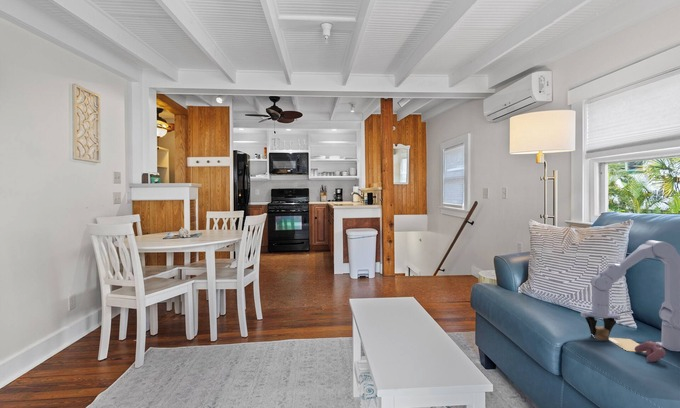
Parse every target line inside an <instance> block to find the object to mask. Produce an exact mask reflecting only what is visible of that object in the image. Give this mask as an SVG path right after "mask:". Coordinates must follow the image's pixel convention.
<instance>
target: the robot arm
mask: <svg viewBox="0 0 680 408" xmlns="http://www.w3.org/2000/svg"><path fill="white" fill-rule="evenodd" d="M651 258H652V259H654V258H657V259H659V260H660V261H661V262H662V263H663V264H664V301H663V302H662V303H661V308H660V309H659V310H658V316H659V318H660V319H661V320H662V321H661V341H655V343H657V344H659V345H660V346H661V347H662V348H663V349H664V348H665V349H666V350H667V351H670V352H671V351H672V352H680V254H679V253H678V251H677V249H676V247H675V246H673V245H672V244H671V243H669V242H666V241H661V240H660V241H659V240H654V239H649V240H646V241H644V243H642V244H640V245H639V246H637V248H636V249H635V250H634V251H633V252H631V253H630V254H628V256H626V257H625V258H624V259H623V260H622V261H620V262H619V263H612V264H609V265H607V268H606V269H604V270H603V271H600V272H599V273H598V274H597V275H594V276H592V277H591V279H590V285H592V301H591V303H592V304H591V307H592V308H591V311H580V317H582V318H584V319H585V320H586V322H587V325H588V328H589V331H590V335H591V334H593V335H595V331H596V326H597V323H598V320H597V319H602V320H603V327H604V328H606V329H608V330H609V336H610V335H611V332H612V329H613V327H614V326H616V324H617V321H621V315H620V314H618V313H611V312H610V306H609V305H610V290H611V289H612V287H613V284H614V283H616V282H618V281H619V280H620V279H621V278H623V277H624V276H626V274H627V270H628V269H629V268H631V267H633V266H635V265H636V264H637V263H639V262H640V261H642V260H643V259H651ZM609 312H610V313H609Z"/></svg>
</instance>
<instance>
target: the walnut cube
mask: <svg viewBox="0 0 680 408" xmlns="http://www.w3.org/2000/svg"><path fill="white" fill-rule="evenodd" d="M594 337H595V338H596V340H597V341H609V338H610V335H609V330H608V329H606V328H604V326H599V325H596V331H595V335H594ZM594 337H593V338H594ZM595 338H594V339H595ZM609 342H610V341H609Z"/></svg>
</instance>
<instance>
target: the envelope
mask: <svg viewBox="0 0 680 408" xmlns="http://www.w3.org/2000/svg"><path fill="white" fill-rule="evenodd" d="M609 342H611V343H612V344H614V345H616V346H617V347H619V348H621V349H622V348H623V349H622V350H624V351H625V350H626V351H625V352H631V353H633V352H634V353H637V352H636V351H635V347H636V346H638V345H640V344H641V343H638V342H636V341H634V340H633V339H630V338H621V337H609ZM642 353H645V354H646V351H644V352H642Z"/></svg>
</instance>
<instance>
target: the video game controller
mask: <svg viewBox="0 0 680 408" xmlns="http://www.w3.org/2000/svg"><path fill="white" fill-rule="evenodd" d="M639 344H640V345H638V346H636V347H635V351H636V352H635V353H643V352H644V351H646V353H645V355H647V356H646V361H647V362H651V363H653V362H657V361H659V360H661V359H664V358H665V356H666V350H665V349H664V347H662V346H660V345H659V344H657V343H656V341H655V342H654V341H650V340H647V341H644V342H643V343H639Z"/></svg>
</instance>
